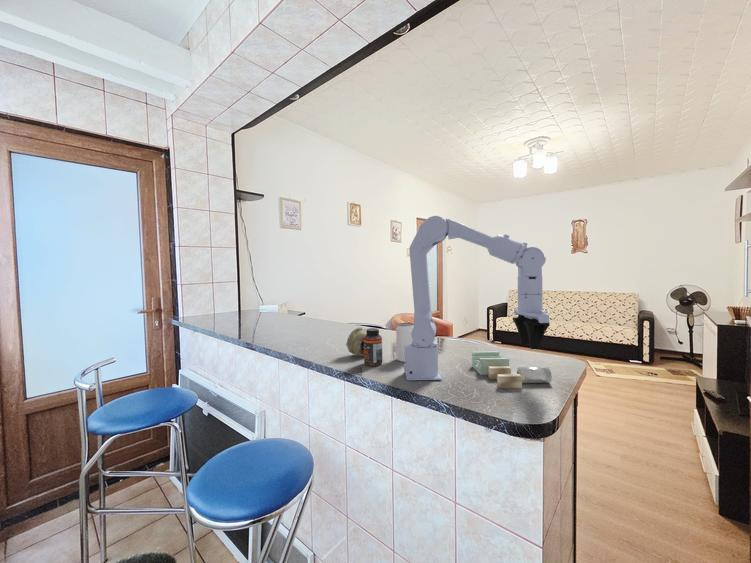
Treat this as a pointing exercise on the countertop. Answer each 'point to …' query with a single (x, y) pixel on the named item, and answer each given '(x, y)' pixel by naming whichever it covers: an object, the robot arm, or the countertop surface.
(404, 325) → the can
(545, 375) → the axle
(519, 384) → the beige blocks
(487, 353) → the v block
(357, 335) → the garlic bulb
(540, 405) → the countertop surface
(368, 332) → the supplement bottle
